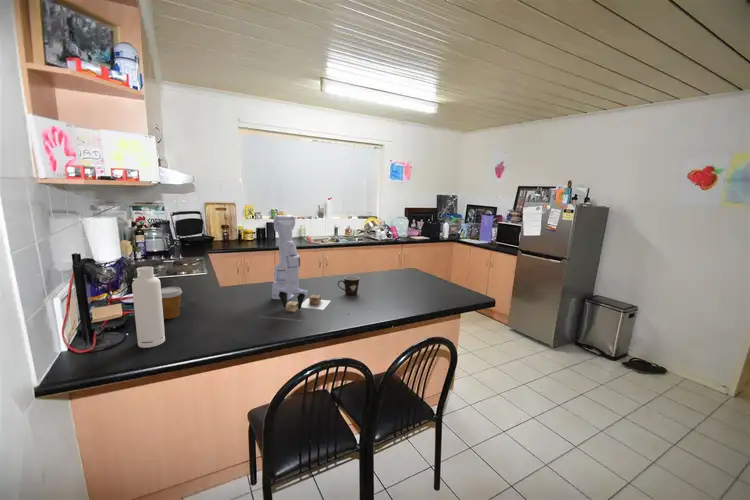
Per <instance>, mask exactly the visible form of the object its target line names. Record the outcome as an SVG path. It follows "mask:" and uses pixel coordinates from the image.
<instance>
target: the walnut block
mask: <svg viewBox="0 0 750 500" xmlns="http://www.w3.org/2000/svg"><path fill="white" fill-rule="evenodd" d="M321 300H322V295H321V294H311V295H310V296H309V305H315V306H318V305H319V304H320V303H321Z"/></svg>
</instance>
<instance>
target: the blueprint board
mask: <svg viewBox="0 0 750 500" xmlns="http://www.w3.org/2000/svg"><path fill="white" fill-rule="evenodd" d="M330 303H331V300H330V299H329V300H326V299H321V303H320V304H319V305H318V306H315V305H309V298H306V299H305V300H303V302H302V305H301V309H302V308H303V309H310V310H312V309H314V310H321V311H323V310H325V309H326V307H327V306H328V305H329V304H330Z"/></svg>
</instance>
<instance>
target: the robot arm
mask: <svg viewBox="0 0 750 500" xmlns="http://www.w3.org/2000/svg"><path fill="white" fill-rule="evenodd" d="M295 226H296V218H295V216H294V215H292V214H291V215H281V214H280V215H279V214H277V215H276V214H275V215H274V217H273V229H274V232H277V235H278V249H279V250H278V252H279V253H278V255H279V263H278V264H277V265H276V266H274V271H273V278H274V281H273V282H272V285H271V290H272V291H271V295H272V297H271V300H281V303H282V306H283V308H284V309H286V304H287V303H288V302H287V301H290V299H292V298H293V297H294V296H295V295H296V296H297V297H296V298H297V302H298V309H297V310H300V309H302V308H301V305H302V303H303V302H304V299H305V298H306V296H308V292H309V290H308V289H302V288H299V283H300V282H299V278H300V275H299V274H300V272H299V269H300V267H301V258H300V255H299V253H298V251H297V245H296V243H295V242H294V240H293V230H294V228H295Z"/></svg>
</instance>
